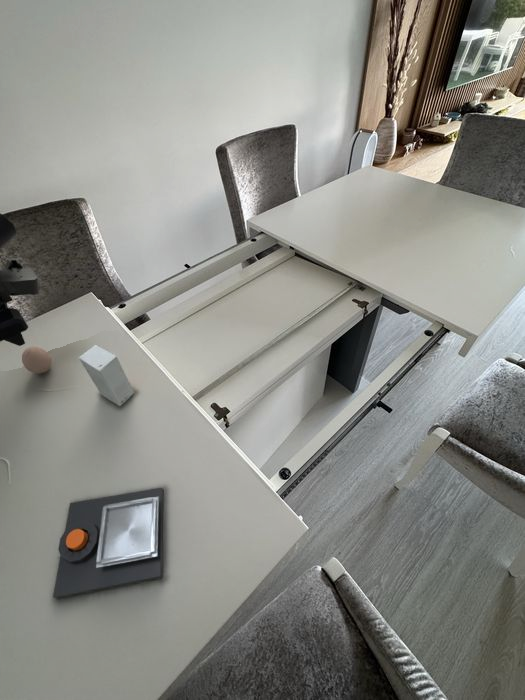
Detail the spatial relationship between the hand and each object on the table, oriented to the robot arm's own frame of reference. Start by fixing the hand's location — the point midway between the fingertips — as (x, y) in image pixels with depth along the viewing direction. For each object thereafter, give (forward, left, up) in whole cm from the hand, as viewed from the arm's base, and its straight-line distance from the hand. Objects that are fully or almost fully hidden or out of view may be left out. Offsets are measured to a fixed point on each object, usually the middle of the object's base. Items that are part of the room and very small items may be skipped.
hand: (18, 335), depth 69 cm
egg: (0, 0, -11) cm, 11 cm away
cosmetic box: (+19, -3, -11) cm, 22 cm away
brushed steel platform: (+34, -28, -8) cm, 45 cm away
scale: (+31, -29, -11) cm, 44 cm away
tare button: (+27, -31, -8) cm, 41 cm away
